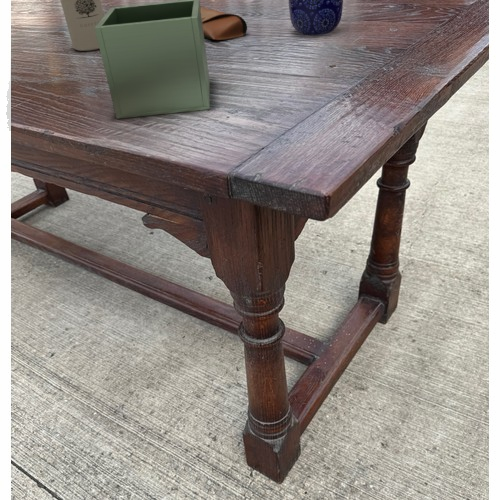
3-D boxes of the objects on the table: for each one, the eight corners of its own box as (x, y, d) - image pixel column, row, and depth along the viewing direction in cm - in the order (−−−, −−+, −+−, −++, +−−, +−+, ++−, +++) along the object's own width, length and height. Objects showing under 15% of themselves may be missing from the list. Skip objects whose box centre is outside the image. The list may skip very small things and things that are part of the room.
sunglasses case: (173, 28, 117) (182, -2, 115) (198, 38, 121) (207, 10, 120) (215, 40, 104) (225, 7, 102) (240, 51, 109) (251, 20, 107)
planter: (284, 38, 103) (282, -23, 96) (295, 25, 111) (293, -32, 105) (338, 37, 100) (340, -26, 93) (345, 24, 108) (347, -35, 102)
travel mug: (74, 45, 114) (49, -48, 103) (110, 40, 115) (89, -52, 104) (73, 53, 107) (46, -44, 97) (111, 48, 108) (88, -49, 98)
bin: (116, 119, 74) (94, 27, 67) (128, 88, 85) (110, 7, 78) (209, 109, 74) (197, 17, 67) (209, 80, 85) (199, -2, 78)
